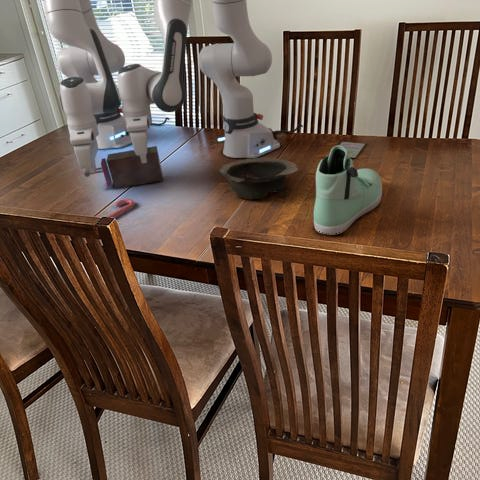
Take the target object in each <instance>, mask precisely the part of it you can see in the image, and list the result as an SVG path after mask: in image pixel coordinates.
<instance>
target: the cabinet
mask: <svg viewBox="0 0 480 480" xmlns="http://www.w3.org/2000/svg"><path fill="white" fill-rule="evenodd" d="M106 157H107V158H106V162H107V166H108V169H109V173H110V176H111V179H112V184H113V187H114V190H118V189H123V188H128V187H133V186H134V187H135V186H139V185H145V184H150V183H155V182H157V183H158V182H161V181H164V172H163V167H162V163H161V159H160V154H159V150H158V146H157V145H153V146H149V147H148V146H147V154H146V158H147V163H142V162H141V158H140V155H136V153H135V151H134V149H131V150H125V151H119V152H114V153H113V152H112V153H108V154H107V156H106Z"/></svg>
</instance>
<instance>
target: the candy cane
mask: <svg viewBox="0 0 480 480" xmlns="http://www.w3.org/2000/svg"><path fill="white" fill-rule="evenodd" d="M124 204H125V206H123V207H121V208H119V209H117V210H115V211H114V212H112V213H110V214H108V215H107V216H106V217H114V218H116V217H118V216H119V215H122V214H123V213H125V212H126V211H128V210H130V209H132V208H133V207H134V206H135V201H134V200H133V199H130V198H123V199H119V200H118V201H116V202H115V206H116V207H120V206H121V205H124Z"/></svg>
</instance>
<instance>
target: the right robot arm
mask: <svg viewBox="0 0 480 480" xmlns="http://www.w3.org/2000/svg"><path fill="white" fill-rule="evenodd" d="M211 2H212V3H211V4H212V12H213V18H214V19H213V20H214V25H215V27H216V28H217V30H219V32H221V33H223V34H225V35H227V36H229V37H230V38H231V39H232V41H233V42H231V43H230V42H227V43H226V42H225V43H214V44H209V45H207V46H204V47H202V48H201V49H200V52H199V54H198V59H197V60H198V67H199V69H200V71H201V72H202V73H203V75H204V76H206V77H208V78H209V79H210V80H211V81H212V82H213V84H215V86H216V88H217V89H218V91H219V94H220V98H221V102H222V103H221V104H222V110H223V111H222V112H223V116H222V122H223V123H222V124H223V130H224V136H223V137H218V138H217V141H218V142H222V141H224V144H223V149H222V154H223V155H224V156H226V157H229V158H232V159H233V158H234V159H254V158H260V157H261V156H263V155H265V154H268V153H270V152H272V151H275V150H277V149H279V148H281V144H280V142H279V141H278V140H276V139H275V138H276V136H275V134H277V133H282V134H291V133H292V134H293V133H295V132H296V131H298V130H299V128H304V126H303V124H301V123H299V124H298V125H297V126H296V127H295V128H294V129H292V130H272V128H271V127H267V126H266V125H264V124H262V123H261V122H260V121H262V120H263V119H264V114H261V113H256V112H254V95H253V93H252V91H251V90H250V89H249V88H248V87H247V86H245V85H242V83H239V81H238V80H237V78H236V77H239V78H240V77H257V76H259V75H260V76H261V75H264V74H267V73H268V72H269V70H270V68H271V67H272V63H273V55H272V51H271V49H270V47H269V46H268V45H267V44H265V43H264V42H263V41H262V40H261V39H259V37H258V36H257V35H256V34H255V32H254V31H253V28H252V27H251V22H250V20H249V19H250V18H249V13H248V5H247V4H248V3H247V0H211ZM192 5H193V0H153V19H154V22H155V24H156V26H157V28H158V29H159V31H160V34H161V36H162V40H163V54H162V67H161V71H158V70H153V69H150V68H148V67H145V66H143V65H141V64H140V63H132V64H128V65H124V67H123V68H122V69H120V71H118V72H117V87H118V89H119V95H120V99H121V106H122V107H121V108H122V112H123V113H122V116H123V117H124V123H125V126H126V127H127V131H128V132H130V136H131V140H132V143H131V144H132V146H133V150H134V151H135V153H136V155H140V158H141V162H142V163H147V158H146V154H147V148H148V142H149V141H148V138H149V137H148V135H149V133H148V130H149V129H150V126H151V125H150V124H151V123H153V116H152V110H151V105H154V104H155V106H156V107H157V108H158V109H159V110H160V111H162V112H163V113H174V112H176V111H178V110H180V109H181V108H182V107H183V105H184V104H185V103H186V98H187V91H186V87H185V82H184V73H185V71H184V70H185V61H186V52H187V40H188V39H187V36H188V30H189V23H190V17H191V12H192V11H191V10H192Z"/></svg>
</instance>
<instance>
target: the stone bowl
mask: <svg viewBox="0 0 480 480" xmlns="http://www.w3.org/2000/svg"><path fill="white" fill-rule="evenodd" d="M298 170H299V169H298V167H297V166H296V164H295V163H293V162H291V161H289V160H287V159H281V158H272V157H271V158H269V157H256V158H242V159H239V160H235V161H232V162H231V161H230V162H228V163H225V164H223V165H222V166H221V168H220V169H219V170H217V173H219V174H220V175H221V176H223V177H224V178H226V179H227V180H228V182H229V186H230V188H231V190H232V191H234V192H235V193H236V196H237V198H239V199H241V200H243V199H245V200H251V201H252V200H255V199H257V200H262V199H264V198H266V197H267V196H268V193H269V194H273V193H281V192H282V191H284V190H285V189H284V188H285V185H286V183H287V182H286V181H287V177H289V176H290V175H292V174H294V173H296V172H297V171H298Z"/></svg>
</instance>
